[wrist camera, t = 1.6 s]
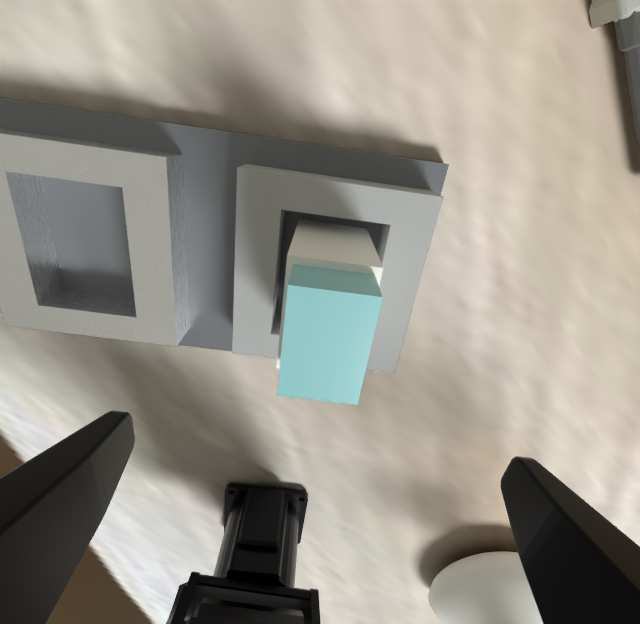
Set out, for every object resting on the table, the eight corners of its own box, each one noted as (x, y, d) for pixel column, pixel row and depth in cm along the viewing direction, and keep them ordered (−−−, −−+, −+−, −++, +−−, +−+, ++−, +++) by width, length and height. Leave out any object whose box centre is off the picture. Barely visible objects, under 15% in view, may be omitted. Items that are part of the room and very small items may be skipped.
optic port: (183, 154, 17) (166, 157, 15) (189, 328, 21) (176, 346, 19) (-14, 126, 16) (-55, 125, 15) (33, 309, 21) (5, 325, 19)
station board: (443, 163, 18) (448, 164, 17) (390, 363, 23) (392, 370, 22) (-18, 95, 17) (-33, 93, 16) (39, 320, 22) (29, 326, 21)
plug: (366, 228, 18) (392, 289, 11) (350, 314, 20) (362, 411, 13) (298, 219, 18) (280, 274, 11) (289, 306, 20) (269, 400, 13)
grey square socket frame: (431, 190, 17) (443, 197, 16) (388, 353, 22) (394, 372, 20) (246, 163, 17) (237, 167, 15) (240, 334, 21) (232, 353, 19)
